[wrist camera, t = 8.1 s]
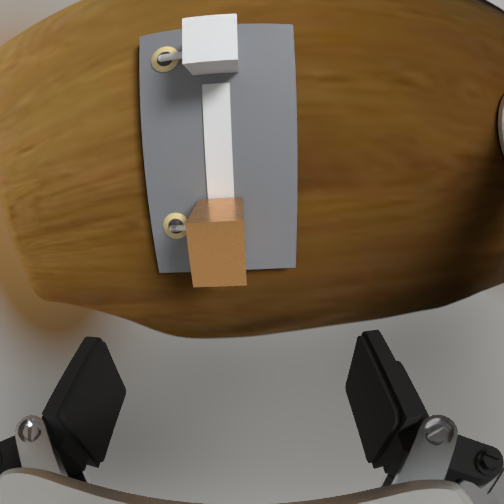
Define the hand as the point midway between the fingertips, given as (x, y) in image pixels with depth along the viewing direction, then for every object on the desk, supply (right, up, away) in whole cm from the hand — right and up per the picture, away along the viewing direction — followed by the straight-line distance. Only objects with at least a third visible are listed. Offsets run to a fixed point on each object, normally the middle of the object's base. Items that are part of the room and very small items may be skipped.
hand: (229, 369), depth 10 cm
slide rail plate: (-2, +14, +16) cm, 22 cm away
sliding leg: (-3, +7, +17) cm, 19 cm away
